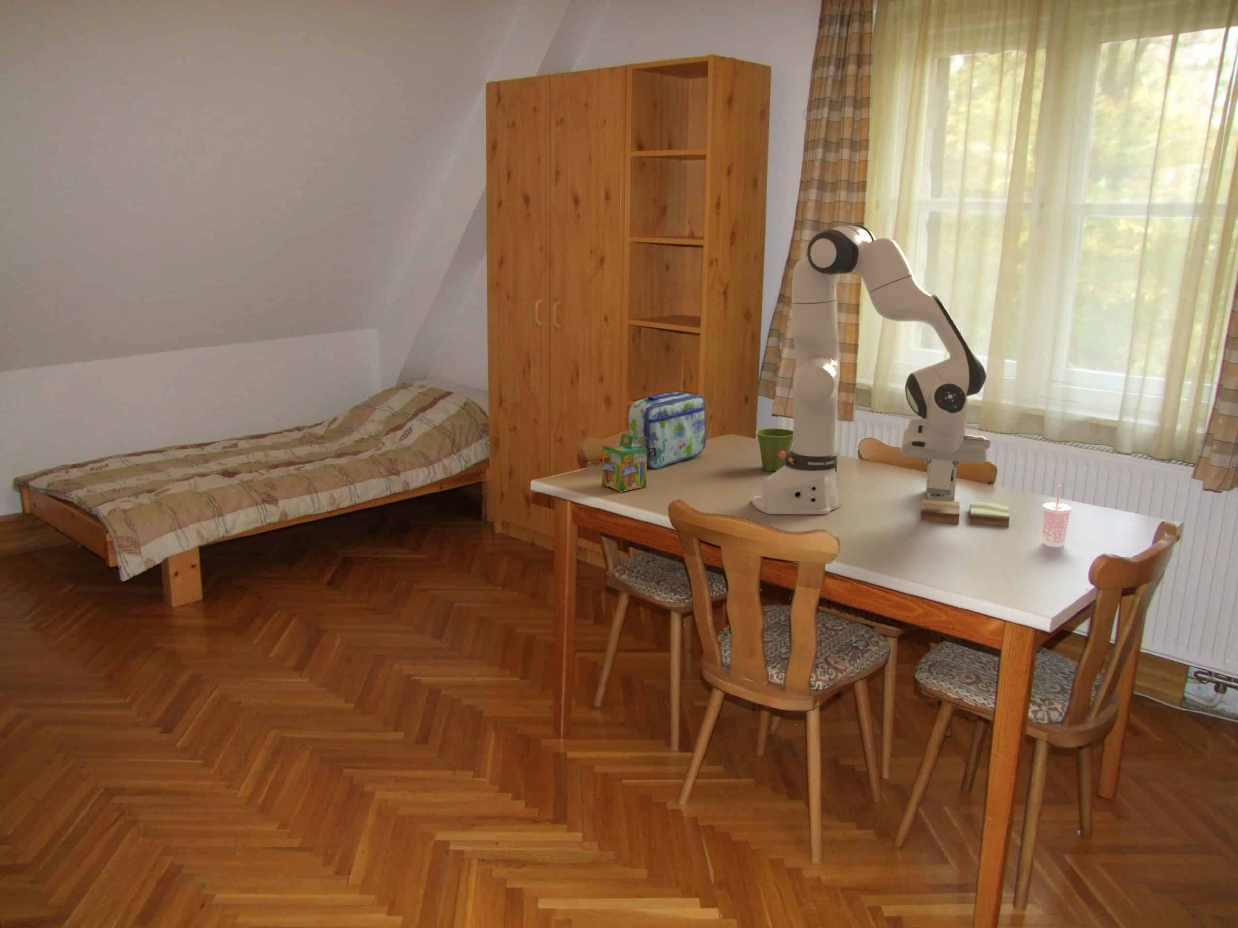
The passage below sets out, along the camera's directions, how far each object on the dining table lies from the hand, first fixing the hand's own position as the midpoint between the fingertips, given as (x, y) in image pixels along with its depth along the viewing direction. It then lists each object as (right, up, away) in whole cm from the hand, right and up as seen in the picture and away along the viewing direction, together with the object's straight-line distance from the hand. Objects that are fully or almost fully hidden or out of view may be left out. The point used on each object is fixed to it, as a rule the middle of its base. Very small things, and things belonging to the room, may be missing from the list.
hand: (941, 463), depth 259 cm
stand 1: (0, -13, +3) cm, 13 cm away
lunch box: (-66, 0, +57) cm, 87 cm away
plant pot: (-34, -2, +48) cm, 59 cm away
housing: (-1, -7, -1) cm, 7 cm away
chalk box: (-79, -7, +30) cm, 85 cm away
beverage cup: (+20, -19, -18) cm, 33 cm away
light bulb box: (+5, -9, +19) cm, 22 cm away
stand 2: (+12, -14, +1) cm, 18 cm away
